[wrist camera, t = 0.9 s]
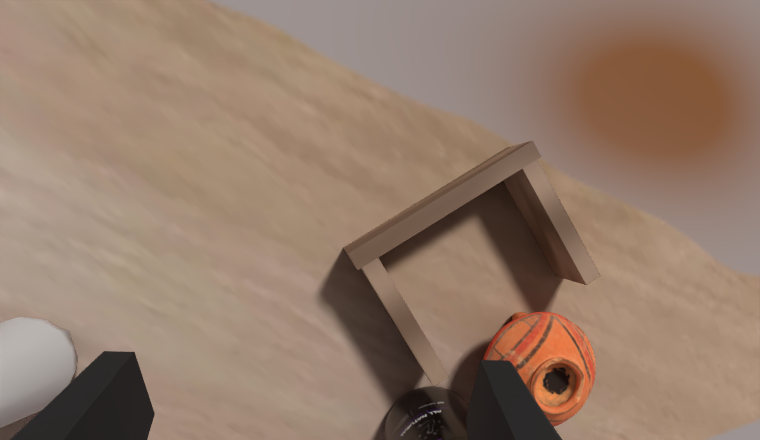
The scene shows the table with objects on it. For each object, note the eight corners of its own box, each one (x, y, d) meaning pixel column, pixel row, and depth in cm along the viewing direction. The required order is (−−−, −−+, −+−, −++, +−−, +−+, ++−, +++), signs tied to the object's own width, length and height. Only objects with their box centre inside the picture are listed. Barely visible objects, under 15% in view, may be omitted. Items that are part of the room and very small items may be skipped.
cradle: (571, 265, 36) (604, 273, 32) (415, 367, 34) (429, 389, 30) (507, 147, 35) (532, 140, 31) (343, 247, 33) (347, 254, 29)
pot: (585, 311, 36) (641, 361, 29) (540, 396, 38) (583, 461, 31) (492, 279, 34) (529, 324, 28) (449, 369, 36) (475, 431, 30)
